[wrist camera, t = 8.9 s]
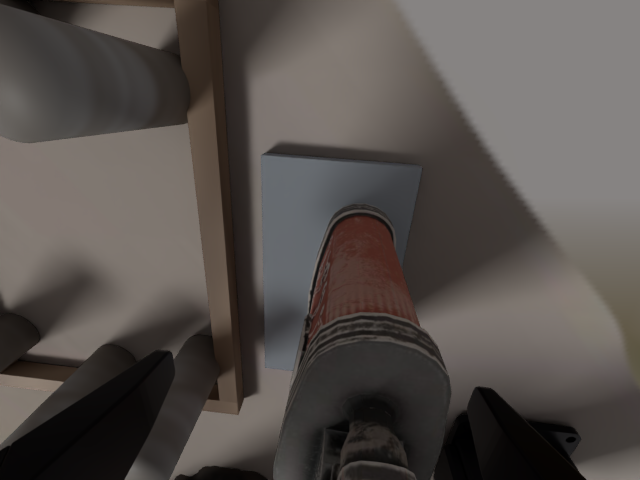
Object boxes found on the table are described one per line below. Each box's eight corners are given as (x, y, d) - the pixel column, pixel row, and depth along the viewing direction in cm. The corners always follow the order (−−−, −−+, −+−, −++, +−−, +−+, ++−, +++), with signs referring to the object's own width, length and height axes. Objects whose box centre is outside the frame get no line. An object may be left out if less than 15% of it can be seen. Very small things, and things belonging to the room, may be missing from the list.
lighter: (322, 197, 12) (237, 519, 3) (408, 210, 12) (625, 587, 3) (301, 349, 15) (232, 720, 6) (367, 360, 15) (399, 752, 6)
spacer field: (216, -29, 10) (42, -204, 4) (243, 399, 18) (198, 527, 12) (-210, -50, 10) (-835, -221, 5) (8, 370, 19) (-132, 480, 13)
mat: (418, 164, 11) (422, 167, 11) (377, 371, 16) (378, 380, 16) (264, 152, 12) (261, 155, 11) (267, 358, 16) (265, 367, 16)
